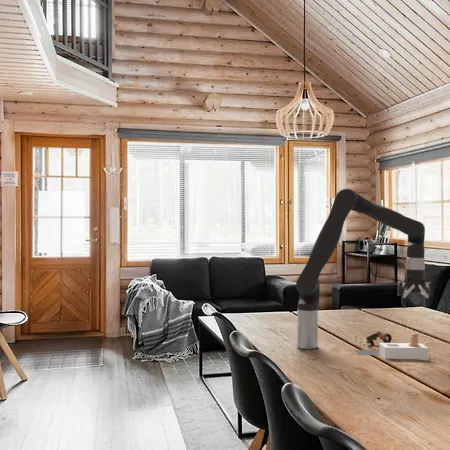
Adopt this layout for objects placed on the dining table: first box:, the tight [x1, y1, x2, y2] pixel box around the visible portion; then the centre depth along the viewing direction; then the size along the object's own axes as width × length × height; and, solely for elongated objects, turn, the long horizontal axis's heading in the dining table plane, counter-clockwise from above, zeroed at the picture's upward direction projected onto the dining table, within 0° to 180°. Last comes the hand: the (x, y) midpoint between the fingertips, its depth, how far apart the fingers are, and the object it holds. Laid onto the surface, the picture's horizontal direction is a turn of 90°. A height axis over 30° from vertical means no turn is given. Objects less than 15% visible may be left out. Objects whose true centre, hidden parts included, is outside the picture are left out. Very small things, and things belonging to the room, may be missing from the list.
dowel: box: [410, 332, 419, 347], centre depth 229 cm, size 3×3×10 cm
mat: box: [354, 349, 380, 356], centre depth 236 cm, size 9×9×1 cm
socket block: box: [378, 342, 430, 361], centre depth 230 cm, size 18×9×5 cm, turn 88°
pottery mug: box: [365, 331, 392, 346], centre depth 249 cm, size 12×10×8 cm
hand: (414, 306), depth 229 cm, fingers open, 8 cm apart
